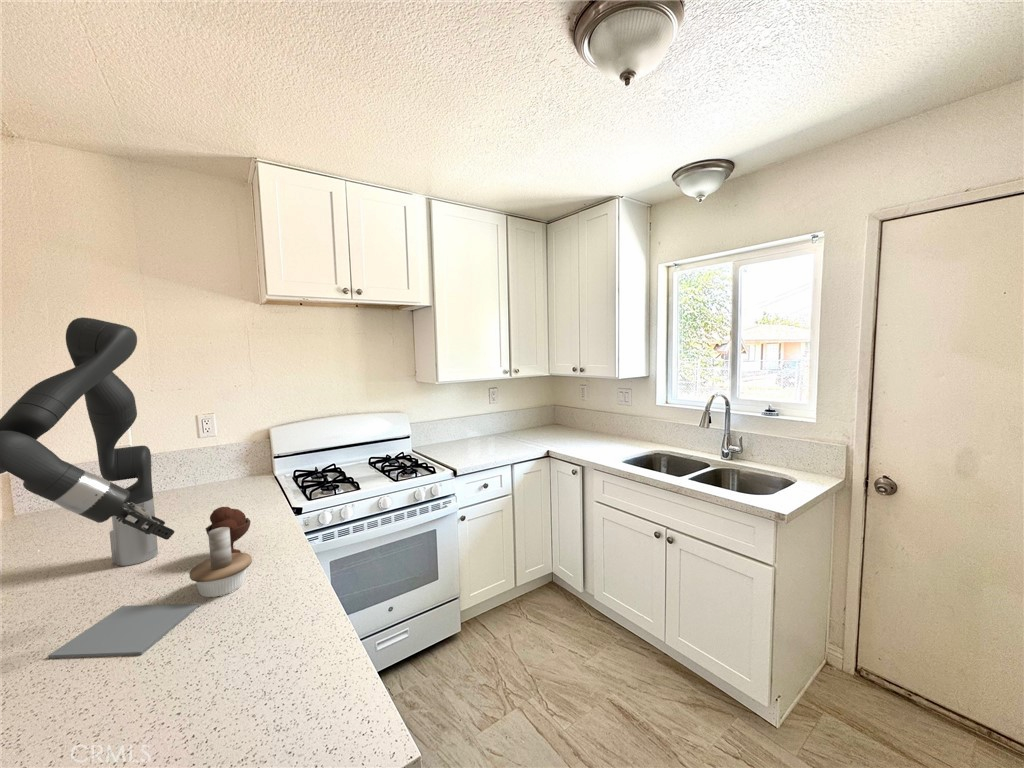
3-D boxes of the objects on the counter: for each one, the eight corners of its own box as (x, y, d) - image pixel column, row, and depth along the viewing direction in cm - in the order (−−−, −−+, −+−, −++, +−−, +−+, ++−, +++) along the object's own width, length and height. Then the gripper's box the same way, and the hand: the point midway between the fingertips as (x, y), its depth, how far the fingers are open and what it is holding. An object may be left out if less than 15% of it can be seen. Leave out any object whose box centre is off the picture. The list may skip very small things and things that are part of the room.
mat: (48, 658, 82) (48, 655, 82) (122, 608, 98) (122, 605, 98) (141, 654, 82) (141, 651, 82) (200, 605, 98) (199, 603, 98)
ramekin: (240, 571, 114) (239, 553, 113) (255, 585, 107) (254, 566, 106) (190, 590, 105) (188, 570, 105) (202, 606, 98) (201, 585, 98)
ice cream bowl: (230, 566, 117) (227, 514, 115) (198, 562, 119) (194, 512, 118) (260, 548, 127) (257, 500, 126) (230, 546, 129) (226, 499, 128)
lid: (175, 582, 99) (172, 543, 98) (213, 556, 112) (211, 520, 111) (230, 581, 99) (228, 541, 98) (262, 554, 112) (260, 519, 111)
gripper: (114, 487, 84) (188, 523, 94) (103, 475, 93) (171, 509, 103) (79, 521, 81) (160, 555, 90) (71, 505, 90) (145, 537, 99)
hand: (166, 530), depth 97 cm, fingers open, 8 cm apart
